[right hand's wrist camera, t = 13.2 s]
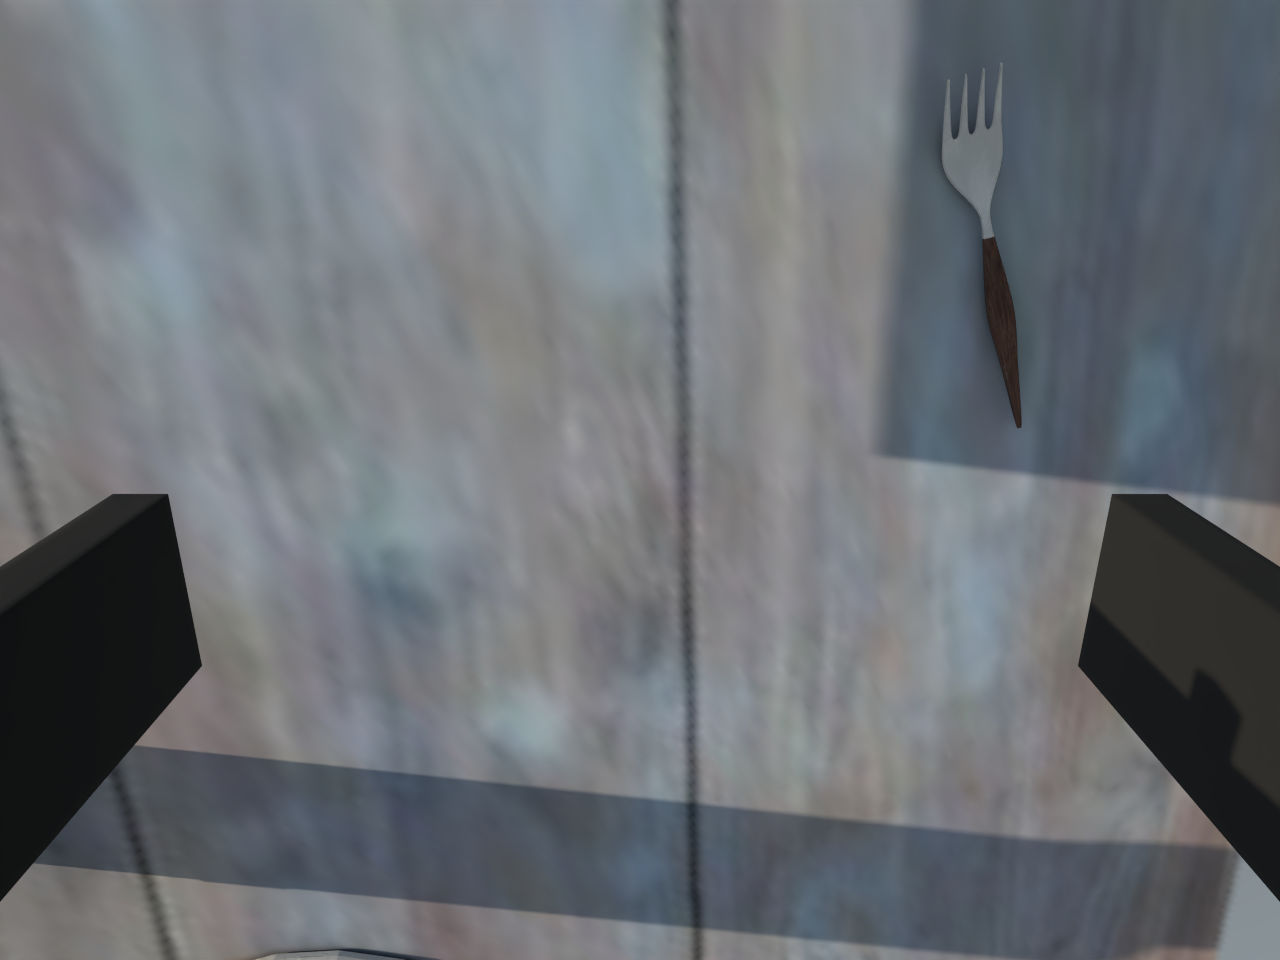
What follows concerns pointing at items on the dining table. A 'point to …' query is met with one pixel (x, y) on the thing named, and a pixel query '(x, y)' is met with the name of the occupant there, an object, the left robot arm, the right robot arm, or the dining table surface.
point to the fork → (985, 218)
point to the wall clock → (325, 956)
